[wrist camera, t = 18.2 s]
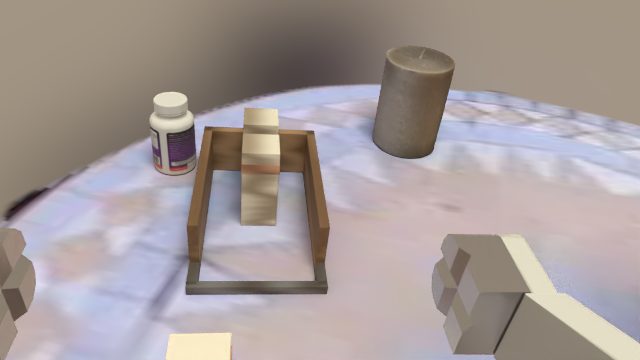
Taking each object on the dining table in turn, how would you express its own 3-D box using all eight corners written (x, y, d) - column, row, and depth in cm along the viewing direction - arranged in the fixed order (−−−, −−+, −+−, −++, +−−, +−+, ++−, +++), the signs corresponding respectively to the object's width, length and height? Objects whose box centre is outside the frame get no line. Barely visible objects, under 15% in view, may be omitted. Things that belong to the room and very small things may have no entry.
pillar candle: (436, 134, 80) (460, 44, 72) (430, 165, 73) (455, 68, 64) (377, 121, 82) (393, 32, 74) (365, 150, 74) (381, 54, 66)
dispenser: (309, 168, 69) (316, 103, 63) (326, 293, 51) (338, 219, 45) (206, 165, 67) (203, 98, 61) (186, 294, 49) (179, 217, 43)
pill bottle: (202, 157, 69) (199, 93, 63) (187, 179, 64) (183, 112, 58) (164, 150, 69) (158, 85, 63) (147, 172, 65) (139, 104, 59)
